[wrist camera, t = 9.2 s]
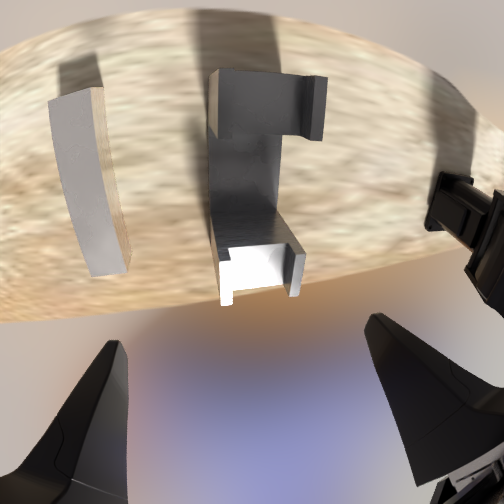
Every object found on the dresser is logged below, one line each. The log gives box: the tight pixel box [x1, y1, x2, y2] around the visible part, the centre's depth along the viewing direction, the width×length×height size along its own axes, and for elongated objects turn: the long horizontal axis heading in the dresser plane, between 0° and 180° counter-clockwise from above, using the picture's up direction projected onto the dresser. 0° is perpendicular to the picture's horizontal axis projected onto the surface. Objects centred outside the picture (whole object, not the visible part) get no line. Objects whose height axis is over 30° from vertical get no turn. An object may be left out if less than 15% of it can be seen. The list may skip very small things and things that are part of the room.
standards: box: [208, 68, 328, 305], centre depth 15 cm, size 5×12×6 cm, turn 178°
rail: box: [48, 87, 132, 277], centre depth 15 cm, size 3×12×3 cm, turn 0°
